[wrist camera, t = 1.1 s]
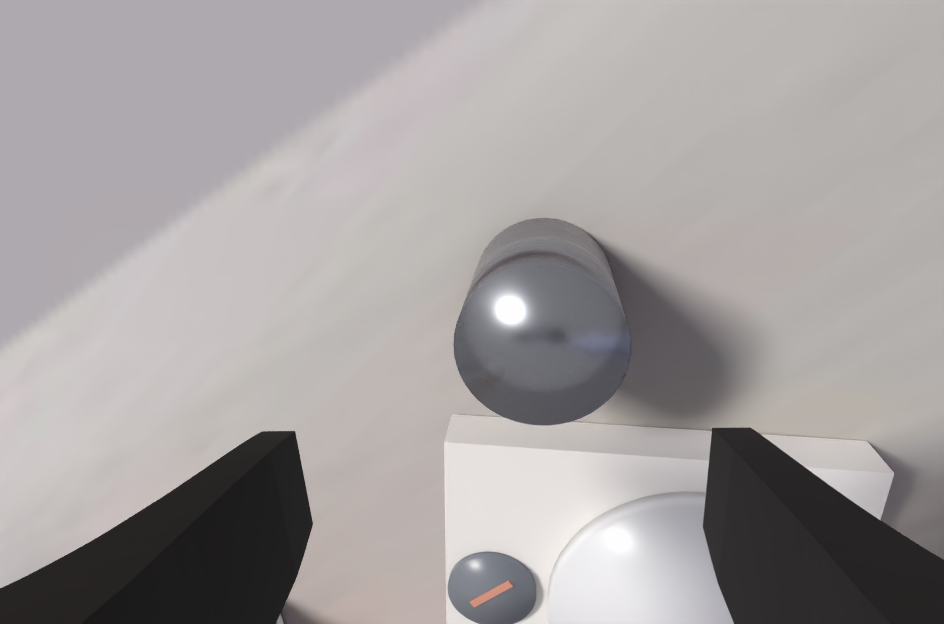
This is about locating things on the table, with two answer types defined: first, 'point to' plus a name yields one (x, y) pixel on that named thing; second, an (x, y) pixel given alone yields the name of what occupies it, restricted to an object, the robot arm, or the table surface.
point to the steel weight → (542, 325)
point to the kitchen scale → (600, 519)
